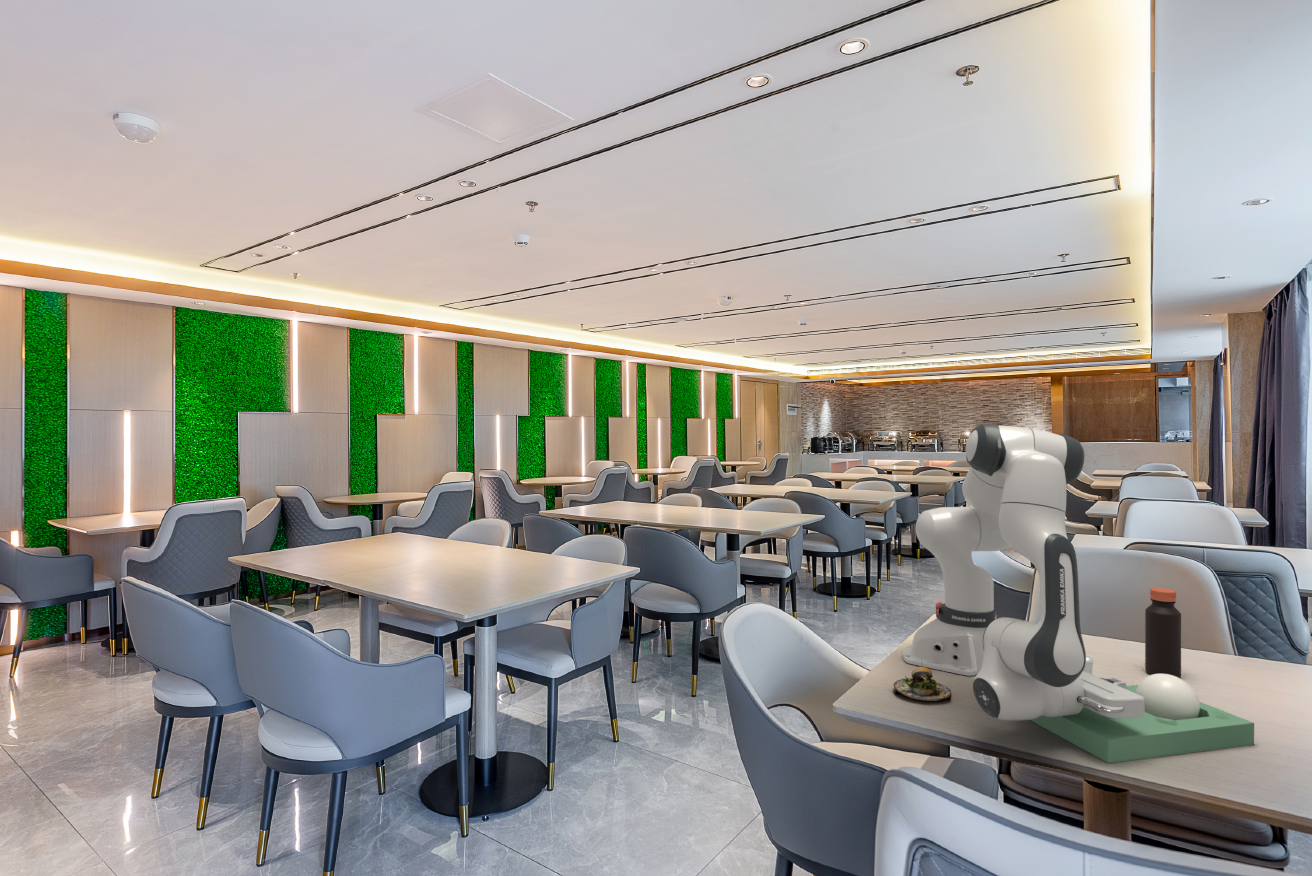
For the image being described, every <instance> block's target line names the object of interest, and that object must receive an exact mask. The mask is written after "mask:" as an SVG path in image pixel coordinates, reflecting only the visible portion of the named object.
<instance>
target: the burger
mask: <svg viewBox="0 0 1312 876" xmlns="http://www.w3.org/2000/svg"><path fill="white" fill-rule="evenodd" d="M921 664H922V662H921ZM904 677H905V678H904ZM904 677H903V678H901V679H899V680H898V679H897V680H896V681H895V682H894V683H893V695H896V692H898V693H900V694H901V695H903V696H905V697H908V698H910V699H914V700H919V701H927V702H928V701H929V702H932V701H940V700H944V699H948V701H949V702H951V701H952V700H953V699H952V690H951V689H950V688H949V687H947V686H946V685H944V684H942V683H939V682H937V680H935V679H933V672H932V670H930V668H928V667H923V666H918V667H915V668H914V669H913V670H912V672H911V677H910V678H909V677H907V676H904Z"/></svg>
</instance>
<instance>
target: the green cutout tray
mask: <svg viewBox="0 0 1312 876" xmlns="http://www.w3.org/2000/svg"><path fill="white" fill-rule="evenodd" d="M1138 685H1139V684H1133V685H1126V689H1127V690H1129V691H1131V692H1134V693H1136V689H1137V686H1138ZM1199 703H1200V711H1199V715H1198V717H1197V718H1192V719H1183V720H1171V719H1166V718H1160V717H1155V716H1153V715H1151V714H1148V713H1146V712H1144V715H1143V717H1140V718H1110V717H1106V716H1103V715H1100V714H1098V713H1096V712H1094V711H1092V710H1090V709H1088V708H1086V707H1084V706H1083V709H1082V710H1081V711H1080V712H1079V713H1078V714H1076V715H1068V716H1059V717H1045V716H1040V717H1038V718H1035V719H1031V720H1030V721H1031V722H1033V723H1035V724H1036V725H1038V726H1040V727H1042V728H1044V729H1045V730H1047V731H1049V732H1051V733H1053V734H1055V735H1056V736H1058V737H1060V738H1062V739H1064V740H1065V741H1067V742H1069V743H1071V744H1073V745H1075V746H1076V747H1079V748H1080V749H1081V750H1083V751H1085V752H1087V753H1090V755H1092V756H1094V757H1096V758H1098V759H1099V760H1102V761H1104V762H1105V763H1107V764H1111V763H1119V762H1127V761H1135V760H1143V759H1151V758H1158V757H1161V758H1162V757H1166V756H1167V757H1168V756H1175V755H1182V754H1192V753H1198V752H1199V753H1200V752H1205V751H1215V750H1223V749H1230V748H1238V747H1245V746H1252V745H1255V722H1253V721H1251V720H1249V719H1246V718H1243V717H1241V716H1237V715H1235V714H1232V713H1230V712H1228V711H1224V710H1223V709H1220V708H1217V707H1215V706H1212V705H1209V704H1206V703H1204V702H1202V701H1199Z"/></svg>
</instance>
